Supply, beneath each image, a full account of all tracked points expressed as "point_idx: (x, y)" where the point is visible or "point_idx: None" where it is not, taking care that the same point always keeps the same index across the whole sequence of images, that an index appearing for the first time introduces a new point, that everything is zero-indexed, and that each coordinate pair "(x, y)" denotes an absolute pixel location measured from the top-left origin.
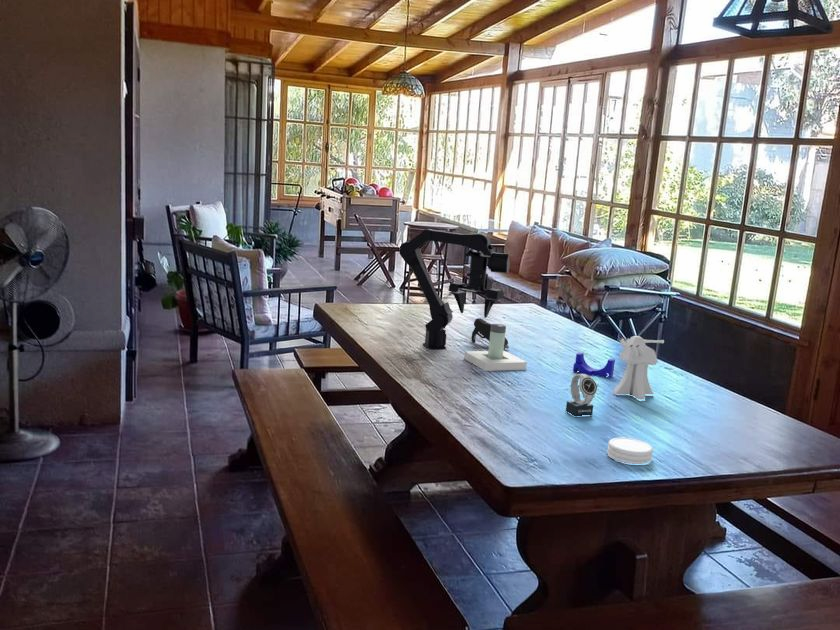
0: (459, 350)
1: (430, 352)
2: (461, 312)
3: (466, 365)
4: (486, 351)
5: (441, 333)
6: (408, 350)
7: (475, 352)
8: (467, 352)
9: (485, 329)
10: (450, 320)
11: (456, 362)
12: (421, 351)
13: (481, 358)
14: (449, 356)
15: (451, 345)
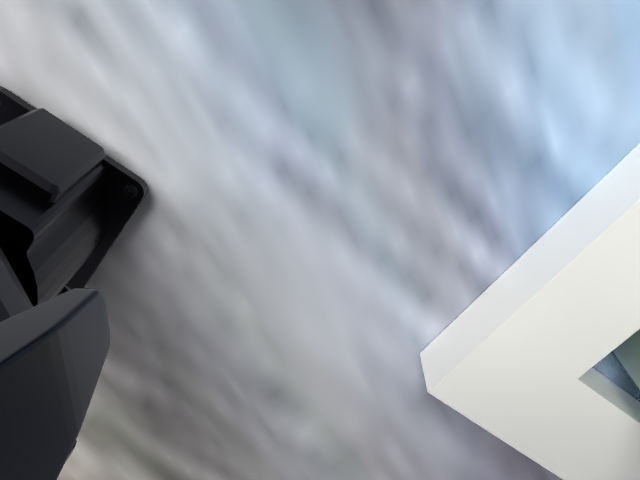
0: (260, 139)
1: (145, 367)
2: (101, 357)
3: (500, 475)
4: (591, 264)
5: (50, 288)
6: None
7: (515, 364)
8: (458, 405)
9: None
10: (8, 296)
11: (417, 459)
12: None
13: (612, 477)
14: (305, 368)
15: (89, 5)
